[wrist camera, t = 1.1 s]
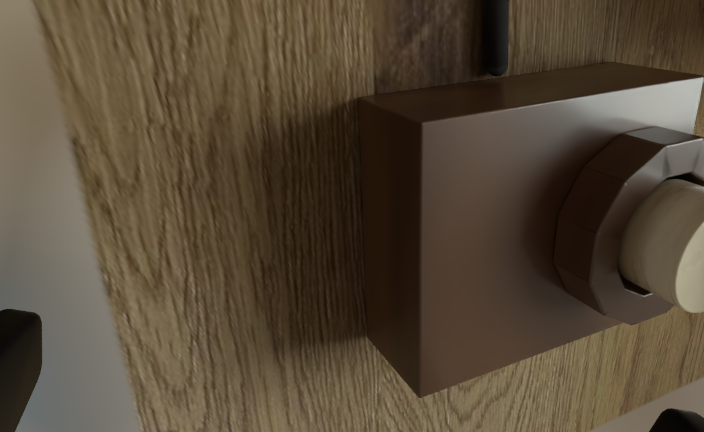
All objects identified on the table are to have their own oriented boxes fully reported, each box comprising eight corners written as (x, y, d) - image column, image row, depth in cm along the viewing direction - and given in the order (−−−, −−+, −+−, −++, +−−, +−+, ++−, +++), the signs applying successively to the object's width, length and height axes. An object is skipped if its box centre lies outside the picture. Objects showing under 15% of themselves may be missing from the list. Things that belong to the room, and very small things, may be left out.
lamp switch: (608, 294, 21) (665, 327, 19) (624, 190, 19) (689, 214, 17) (684, 267, 22) (745, 296, 20) (706, 169, 21) (774, 189, 19)
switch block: (366, 337, 24) (447, 433, 19) (357, 97, 20) (457, 136, 15) (591, 267, 29) (704, 328, 24) (620, 60, 25) (764, 81, 20)
